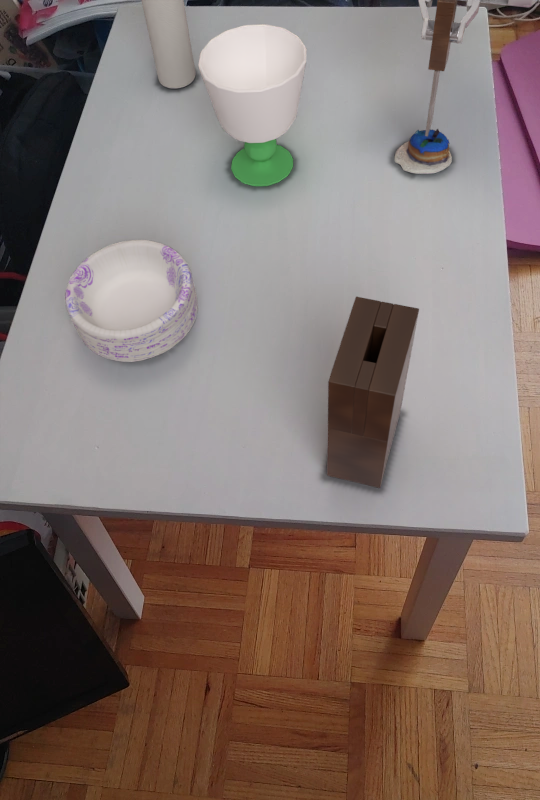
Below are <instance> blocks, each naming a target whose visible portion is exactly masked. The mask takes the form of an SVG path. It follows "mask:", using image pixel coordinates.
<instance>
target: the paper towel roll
mask: <svg viewBox="0 0 540 800" xmlns="http://www.w3.org/2000/svg"><path fill="white" fill-rule="evenodd" d="M140 1H141V5H142V9H143V15H144V19H145V23H146V29H147V34H148V38H149V42H150V47H151V51H152V56H153V61H154V65H155V70H156V74H157V79H158V82H159V83H160V84H161V85H162V86H163V87H164V88H168V89H181V88H184V87H186V86H189V85H191V84H192V82H194V80H195V78H196V74H197V72H196V67H195V61H194V55H193V48H192V43H191V37H190V30H189V24H188V18H187V12H186V7H185V0H140Z"/></svg>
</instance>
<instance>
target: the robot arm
mask: <svg viewBox="0 0 540 800" xmlns="http://www.w3.org/2000/svg"><path fill="white" fill-rule="evenodd" d="M459 1H460V2H461V1H462V2H466V13H465V14H464V16H463V17H462V19H461V20H460V21H459V22H457V21H454V22H453V25H452V32H451V34H450V39H449V41H450V42H451V43H453V44H460V45H461V44H462V43H463V39H464V36H465V35H464V34H465V30H466V29H467V28H468V27H469V25H470V24H471V22H472V21H473V20H474V19H475V17H477V15H478V13H479V10H480V6H481V3H482V4H491V5H501V6H510V7H520V8H531V7H533V6H534V5H535V4H536V3H537V2H538V1H539V0H459ZM432 5H433V0H418V7H419V9H420V13H421V17H422V21H423V24H422V29H421V33H420V34H421V36H420V38H421V40H424V41H432V38H433V31H434V23H435V19H432V18H430V14H429V11H428V8H431V7H432Z"/></svg>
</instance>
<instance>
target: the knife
mask: <svg viewBox="0 0 540 800" xmlns="http://www.w3.org/2000/svg"><path fill="white" fill-rule="evenodd" d="M457 6H458V0H437V2H436V9H435V17H434V20H435V23H434V31H433V38H432V40H431V46H430V54H429V60H428V67H427V69H428V70H429V71H434V72H433V77H432V84H431V91H430V98H429V103H428V111H427V118H426V119H427V120H426V126H425V127H426V128H425V130H426V132H425V136H428V134H429V131H430V130H431V127H432V125H433V122H434V121H433V120H434V113H435V106H436V101H437V95H438V87H439V81H440V75H441V72H445V70H446V67H447V64H448V61H449V57H450V56H449V55H450V49H451V42H450V41H449V39H450V34H451V32H452V25H453V22H455V19H456V12H457Z"/></svg>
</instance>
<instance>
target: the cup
mask: <svg viewBox="0 0 540 800" xmlns="http://www.w3.org/2000/svg"><path fill="white" fill-rule="evenodd" d="M307 53H308V49H307V47H306V45H305V44H304V42H303V41H302V39H301V38H300V36H298V35H297V34H295V33H293V32H292V31H290V30H288V29H287V28H285V27H280V26H277V25H271V24H267V23H263V24H262V23H261V24H260V23H259V24H244V25H241V26H237V27H233V28H230V29H226V30H224V31H222V32H221V33H220V34H218V35H216V36H214V37H213V38H211V39H209V41H207V43H206V45H205V46H204V47H203V48H202V50H201V51H200V53H199V57H198V66H197V67H198V69H199V72H200V75H201V78H202V81H203V84H204V86H205V88H206V91H207V93H208V96H209V99H210V101H211V104H212V107H213V110H214V113H215V115H216V118H217V120H218V122H219V125H220V126H221V128H222V130H223V131H224V132H225V133H226V134H227V135H229V136H230V137H231V138H233V139H234V140H236V141H240V142H243V143H244V144H243V148H242V149H240V150H239V151H238V152H236V154H235V155H234V157H233V158H232V160H231V167H230V170H231V172H232V174H233V176H234V178H235V179H237V180H238V181H239V182H240V183H242V184H244V185H248V186H251V187H269V186H271V185H275V184H279V183H280V182H281V181H283V180H284V179H286V178H287V177H288V176H289V175H290V173H291V172H292V170H293V169H294V158H293V156H292V154H291V152H290V151H289V150H288V149H286V148H285V147H283V146H281V145H280V144H277V139H278V138H280V137H281V136H283V135H284V134H286V133H287V132H288V131H289V129H290V128H291V126H292V124H293V123H294V121H296V119H297V116H298V111H299V106H300V99H301V95H302V88H303V82H304V77H305V72H306V65H307Z"/></svg>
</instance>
